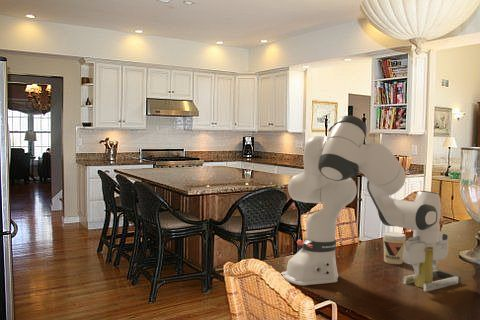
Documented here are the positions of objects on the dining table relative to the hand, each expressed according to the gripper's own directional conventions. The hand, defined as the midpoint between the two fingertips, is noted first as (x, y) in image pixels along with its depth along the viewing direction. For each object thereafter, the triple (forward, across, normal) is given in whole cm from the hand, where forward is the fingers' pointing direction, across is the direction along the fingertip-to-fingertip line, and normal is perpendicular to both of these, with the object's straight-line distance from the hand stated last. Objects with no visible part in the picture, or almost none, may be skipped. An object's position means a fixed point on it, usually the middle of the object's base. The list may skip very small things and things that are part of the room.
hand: (424, 273), depth 156 cm
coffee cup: (+5, +14, +26) cm, 30 cm away
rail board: (+4, +4, 0) cm, 6 cm away
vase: (+5, 0, 0) cm, 5 cm away
